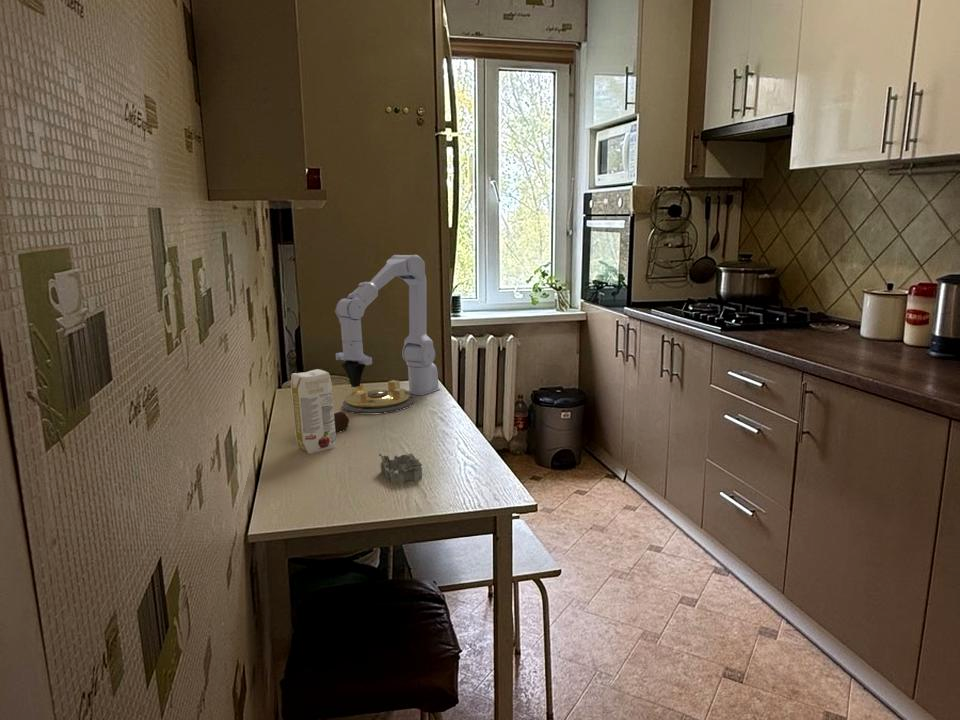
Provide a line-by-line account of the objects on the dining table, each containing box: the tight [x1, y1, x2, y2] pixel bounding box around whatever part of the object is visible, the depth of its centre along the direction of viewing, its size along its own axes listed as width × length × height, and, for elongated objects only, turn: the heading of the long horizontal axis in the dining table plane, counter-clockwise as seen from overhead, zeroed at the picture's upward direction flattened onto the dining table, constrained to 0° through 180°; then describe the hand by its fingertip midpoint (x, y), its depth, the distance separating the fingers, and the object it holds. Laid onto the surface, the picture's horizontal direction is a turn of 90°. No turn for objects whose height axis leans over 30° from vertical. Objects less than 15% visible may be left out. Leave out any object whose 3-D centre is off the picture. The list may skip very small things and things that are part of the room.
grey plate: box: [342, 394, 414, 414], centre depth 202 cm, size 21×21×1 cm
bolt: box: [334, 411, 350, 433], centre depth 181 cm, size 6×5×15 cm
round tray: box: [345, 379, 411, 408], centre depth 201 cm, size 19×19×4 cm
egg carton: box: [378, 453, 423, 485], centre depth 144 cm, size 11×8×4 cm
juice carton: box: [290, 368, 336, 455], centre depth 161 cm, size 8×9×19 cm
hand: (355, 386), depth 194 cm, fingers closed
